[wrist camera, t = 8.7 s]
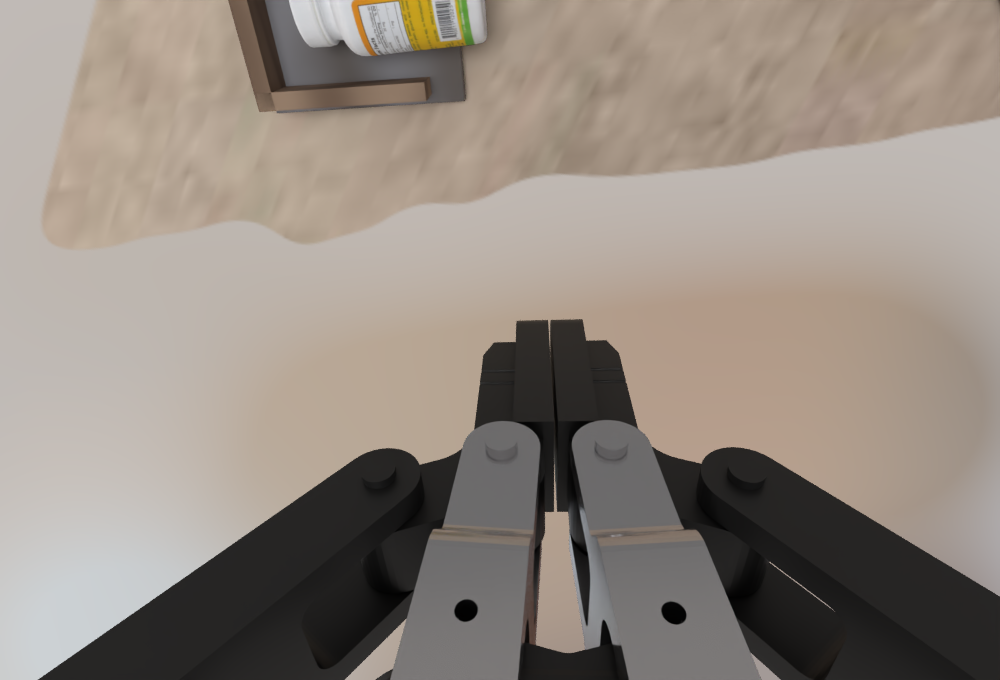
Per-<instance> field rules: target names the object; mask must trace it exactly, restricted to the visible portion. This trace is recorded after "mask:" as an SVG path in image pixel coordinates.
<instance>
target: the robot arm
mask: <svg viewBox="0 0 1000 680" xmlns="http://www.w3.org/2000/svg"><path fill="white" fill-rule="evenodd" d="M554 464H555V482H556V500H557V512H568V514H569V526H570V529H569V550H570V556H571V562H572V568H573V574H574V580H575V587H576V592H577V599H578V605H579V611H580V617H581V623H582V630H583V636H584V645H585V650H583V651H579V652H575V653H562V652H558V651H554V650H551V649H547V648H544V647H540V646H536V628H537V613H538V599H539V583H540V567H541V552H542V551H541V550H542V539H543V537H544V533H545V512H554ZM769 561H770V562H771V563H773V564H774V565H775V566H777V567H778V568H779V569H781V570H782V571H783V572H785V573H786V574H787V575H789V576H790V577H791V578H793V579H794V580H795V581H797V582H798V583H799V584H801V585H802V586H803V587H805V588H806V589H807V590H809V591H810V592H811V593H813V594H814V595H816V596H817V597H818V598H820V599H821V600H822V601H823V602H825V603H826V604H828V605H829V606H830V607H831V608H832V609H833V610H834V611H833V610H832V609H831V608H829V607H828V606H826V605H825V604H824V603H822V602H821V601H820V600H818V599H817V598H816V597H814V596H813V595H812V594H810V593H809V592H808V591H806V590H805V589H804V588H802V587H801V586H800V585H798V584H797V583H796V582H794V581H793V580H792V579H790V578H789V577H788V576H786V575H785V574H784V573H782V572H781V571H780V570H778V569H777V568H776V567H774V566H773V565H772V564H770V563H769ZM406 618H407V620H406V623H405V627H404V631H403V634H402V638H401V642H400V645H399V649H398V653H397V657H396V660H395V664H394V668H393V669H392V670H390V671H388V672H386V673H385V674H383V675H382V676H380V677H379V678H377V679H376V680H761V677H760V675H759V673H758V670H757V668H756V665H755V663H754V660H753V658H752V656H751V653H752V654H753V655H754V656H755V657H756V658H757V659H758V660H760V661H761V662H762V663H763V664H764V665H765V666H766V667H768V668H769V669H770V670H771V671H772V672H773V673H774V674H775V675H776V676H777V677H779V678H780V679H781V680H1000V596H998V595H996V594H995V593H993V592H991V591H990V590H988V589H986V588H985V587H983V586H981V585H980V584H978V583H976V582H975V581H973V580H971V579H970V578H968V577H966V576H965V575H963V574H961V573H960V572H958V571H957V570H955V569H953V568H952V567H950V566H948V565H947V564H945V563H943V562H942V561H940V560H938V559H937V558H935V557H933V556H932V555H930V554H928V553H927V552H925V551H923V550H922V549H920V548H918V547H917V546H915V545H913V544H912V543H910V542H908V541H907V540H905V539H903V538H902V537H900V536H899V535H896V534H895V533H894V532H892V531H890V530H889V529H887V528H885V527H884V526H882V525H880V524H879V523H877V522H875V521H874V520H872V519H870V518H869V517H867V516H865V515H864V514H862V513H860V512H859V511H857V510H855V509H854V508H852V507H850V506H849V505H847V504H845V503H844V502H842V501H841V500H839V499H837V498H836V497H834V496H832V495H831V494H829V493H827V492H826V491H824V490H822V489H820V488H819V487H817V486H816V485H814V484H812V483H811V482H809V481H807V480H806V479H804V478H802V477H801V476H799V475H797V474H796V473H794V472H792V471H791V470H789V469H787V468H786V467H784V466H783V465H781V464H779V463H777V462H776V461H774V460H773V459H771V458H769V457H767V456H765V455H764V454H761V453H759V452H756V451H753V450H749V449H744V448H736V447H731V448H722V449H718V450H715V451H713V452H711V453H710V454H708V455H707V456H706V457H705V458H704V460H703V462H702V464H700V463H696V462H691V461H687V460H683V459H678V458H675V457H671V456H669V455H666V454H663V453H662V452H660V451H658V450H656V449H655V448H653V447H652V446H651V444H650V442H649V440H648V438H647V437H646V436H645V434H643V433H642V432H641V431H640V430H639V429H638V427H637V423H636V419H635V415H634V411H633V407H632V404H631V400H630V395H629V392H628V388H627V384H626V380H625V376H624V372H623V368H622V364H621V360H620V356H619V353H618V352H617V351H616V350H615V349H614V348H613V347H612V346H611V345H610V344H609V343H608V342H607V341H606V340H602V341H586V337H585V332H584V326H583V320H582V319H579V320H578V319H576V320H551V323H550V346H549V329H548V320H535V321H534V320H533V321H517V324H516V342H501V343H500V342H498V343H493V345H492V346H491V347H490V348H489V349H488V351H487V352H486V353H485V354H484V356H483V364H482V373H481V379H480V387H479V396H478V404H477V412H476V420H475V428H474V431H472V432H471V433H470V434H469V435H468V436H467V438H466V440H465V442H464V445H463V448H462V449H461V450H460V451H458V452H457V453H455V454H453V455H451V456H449V457H447V458H444V459H440V460H437V461H433V462H429V463H425V464H422V465H419V463H418V461H417V460H416V458H415V457H414V456H412V455H411V454H410V453H408V452H406V451H403V450H399V449H392V448H391V449H390V448H386V449H378V450H374V451H371V452H367V453H365V454H363V455H361V456H359V457H358V458H356V459H354V460H353V461H352V462H350V463H349V464H347V465H346V466H344V467H343V468H341V469H340V470H339V471H337V472H336V473H334V474H333V475H331V476H330V477H328V478H327V479H326V480H324V481H323V482H321V483H320V484H318V485H317V486H316V487H314V488H313V489H312V490H310V491H308V492H307V493H306V494H304V495H303V496H301V497H300V498H298V499H297V500H295V501H294V502H293V503H291V504H290V505H288V506H287V507H285V508H284V509H283V510H281V511H280V512H278V513H277V514H275V515H274V516H273V517H271V518H270V519H268V520H267V521H265V522H264V523H262V524H261V525H260V526H258V527H257V528H255V529H254V530H252V531H251V532H249V533H248V534H247V535H245V536H244V537H242V538H241V539H239V540H238V541H237V542H235V543H234V544H232V545H231V546H229V547H228V548H227V549H225V550H224V551H222V552H221V553H219V554H218V555H216V556H215V557H214V558H212V559H211V560H209V561H208V562H207V563H205V564H204V565H202V566H201V567H199V568H198V569H196V570H195V571H194V572H192V573H191V574H189V575H188V576H186V577H185V578H183V579H182V580H181V581H179V582H178V583H176V584H175V585H173V586H172V587H170V588H169V589H168V590H166V591H165V592H163V593H162V594H160V595H159V596H158V597H156V598H155V599H153V600H152V601H150V602H149V603H148V604H146V605H145V606H143V607H142V608H140V609H139V610H138V611H136V612H135V613H134V614H132V615H130V616H129V617H127V618H126V619H125V620H123V621H122V622H120V623H119V624H117V625H116V626H114V627H113V628H112V629H110V630H109V631H107V632H106V633H104V634H103V635H102V636H100V637H99V638H97V639H96V640H94V641H93V642H91V643H90V644H89V645H87V646H86V647H84V648H83V649H81V650H80V651H79V652H77V653H76V654H74V655H73V656H72V657H70V658H68V659H67V660H66V661H64V662H63V663H61V664H60V665H58V666H57V667H56V668H54V669H53V670H51V671H50V672H48V673H47V674H46V675H44V676H43V677H41V678H40V679H38V680H345V679H346V678H347V677H348V676H349V675H350V674H351V673H352V672H353V671H354V670H355V669H356V668H357V667H358V666H359V665H360V664H361V663H362V662H363V661H364V660H365V659H366V658H367V657H368V656H369V655H370V654H371V653H372V652H373V651H374V650H375V649H376V648H377V647H378V646H379V645H380V644H381V643H382V642H383V641H384V640H385V639H386V638H387V637H388V636H389V635H390V634H391V633H392V632H393V631H394V630H395V629H396V628H397V627H398V626H399V625H400V624H401V623H402V622H403V621H404V620H405V619H406ZM750 652H751V653H750Z"/></svg>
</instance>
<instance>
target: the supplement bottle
mask: <svg viewBox="0 0 1000 680" xmlns="http://www.w3.org/2000/svg"><path fill="white" fill-rule="evenodd" d="M289 3H290V7H291V11H292V14H293V17H294V20H295V23H296V25H297V28H298V30H299V32H300V34H301V36H302V38H303V39H304V41H305V42H306V43H307V44H308V45H309V46H310V47H313V48H316V47H332V46H334V45H337V44H338V43H339V41H340V40H344V41H345V43H346V44H347V46H348V47H349V48H350V49H351V50H352V51H353V52H354V53H356V54H358V55H360V56H377V55H385V54H393V53H401V52H410V51H419V50H428V49H438V48H446V47H456V46H465V45H474V44H480V43H483V42H485V40H486V38H487V22H486V7H485V0H289Z"/></svg>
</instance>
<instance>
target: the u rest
mask: <svg viewBox="0 0 1000 680" xmlns="http://www.w3.org/2000/svg"><path fill="white" fill-rule="evenodd" d="M228 1H229V5H230V8H231V12H232V15H233V19H234V23H235V26H236V30H237V33H238V37H239V41H240V44H241V48H242V51H243V55H244V59H245V62H246V66H247V69H248V73H249V77H250V80H251V84H252V87H253V91H254V95H255V98H256V102H257V105H258V109H259V112H267V111H277V113H287V112H303V111H318V110H333V109H349V108H364V107H379V106H395V105H410V104H425V103H441V102H456V101H465V99H466V95H465V84H464V73H463V62H462V51H461V46H456V47H446V48H438V49H428V50H419V51H410V52H401V53H393V54H385V55H377V56H360V55H358V54H356V53H354V52H353V51H352V50H351V49H350V48H349V47H348V46H347V44H346V43H345V41H344V40H340V41H339V43H338V44H337V45H334V46H332V47H316V48H313V47H310V46H309V45H308V44H307V43H306V42H305V41H304V39H303V38H302V36H301V34H300V32H299V30H298V28H297V25H296V23H295V20H294V17H293V14H292V11H291V7H290V3H289V0H228Z"/></svg>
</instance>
